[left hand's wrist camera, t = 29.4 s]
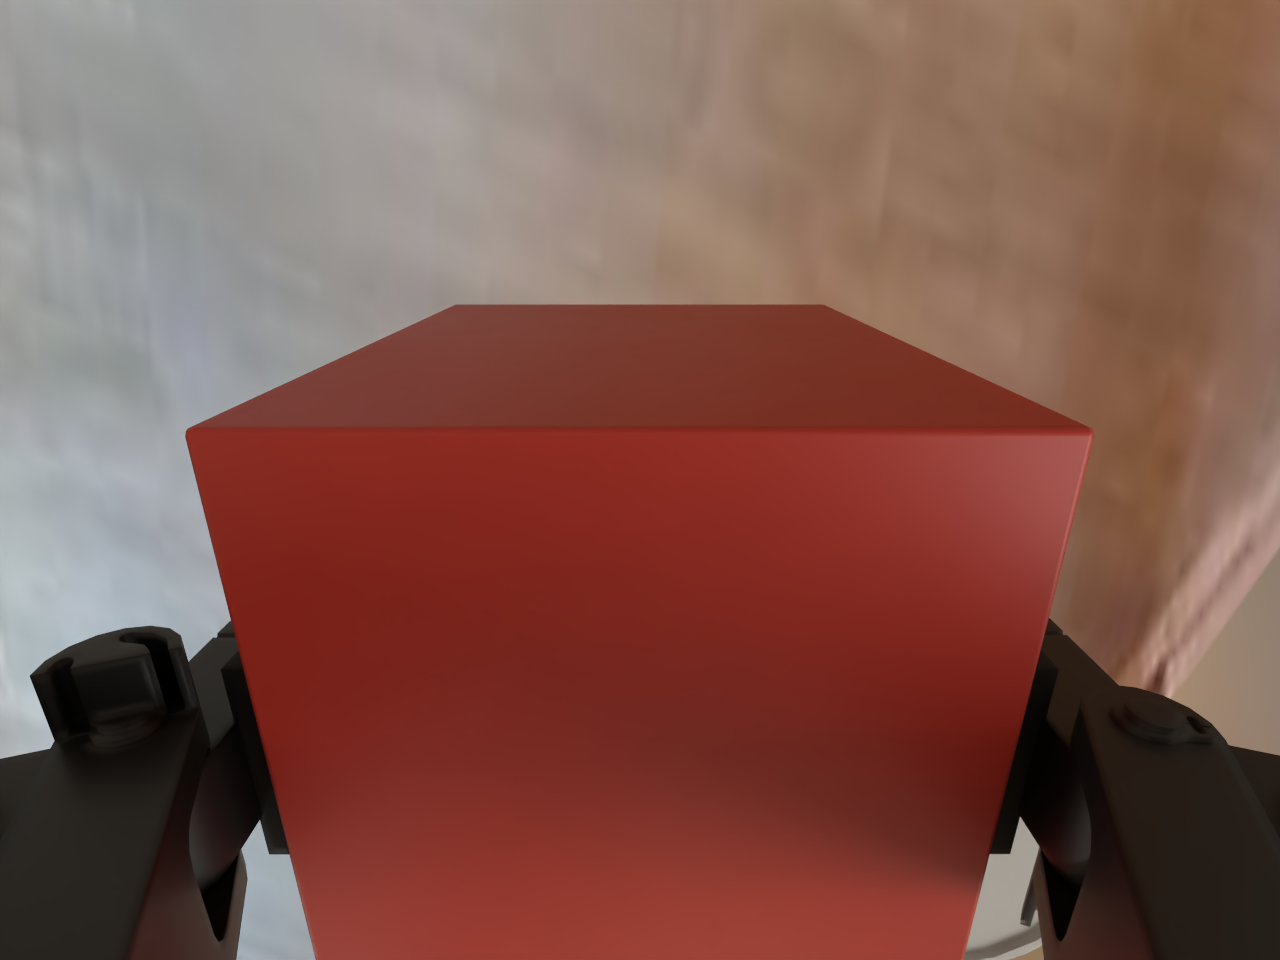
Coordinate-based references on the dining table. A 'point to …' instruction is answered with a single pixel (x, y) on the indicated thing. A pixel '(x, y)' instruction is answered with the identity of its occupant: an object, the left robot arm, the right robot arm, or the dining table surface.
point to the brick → (639, 630)
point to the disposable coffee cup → (1005, 904)
